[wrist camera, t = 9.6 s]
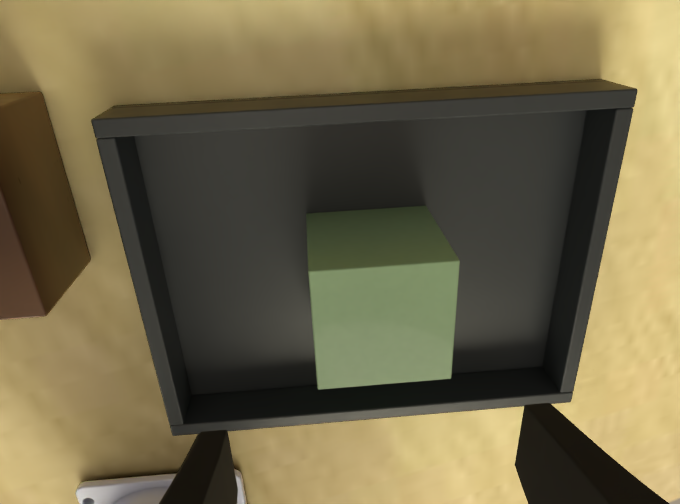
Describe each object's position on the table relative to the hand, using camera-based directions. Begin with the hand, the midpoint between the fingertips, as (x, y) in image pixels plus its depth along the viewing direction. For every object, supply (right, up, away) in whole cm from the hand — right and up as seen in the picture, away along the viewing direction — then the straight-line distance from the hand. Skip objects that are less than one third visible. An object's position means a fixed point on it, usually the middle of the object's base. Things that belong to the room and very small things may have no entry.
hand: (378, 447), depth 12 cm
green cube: (0, +4, +8) cm, 9 cm away
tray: (0, +4, +8) cm, 10 cm away
